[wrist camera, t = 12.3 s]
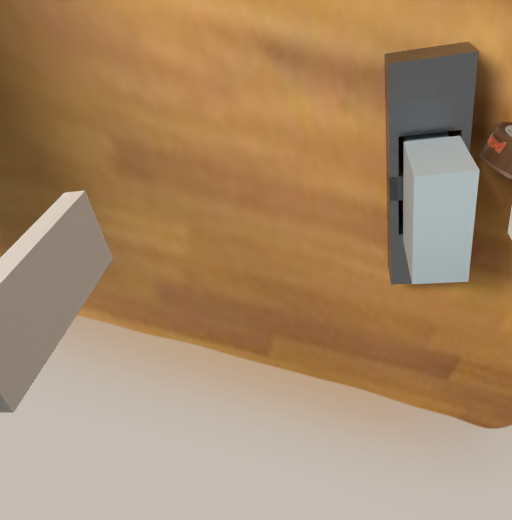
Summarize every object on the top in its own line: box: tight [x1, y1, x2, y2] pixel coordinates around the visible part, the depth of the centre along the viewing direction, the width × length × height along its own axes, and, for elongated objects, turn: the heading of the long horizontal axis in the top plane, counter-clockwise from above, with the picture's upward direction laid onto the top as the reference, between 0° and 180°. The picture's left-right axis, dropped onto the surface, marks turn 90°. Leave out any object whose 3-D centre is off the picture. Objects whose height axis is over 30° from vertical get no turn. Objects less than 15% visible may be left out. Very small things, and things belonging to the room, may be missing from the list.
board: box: [385, 42, 479, 284], centre depth 40 cm, size 6×20×3 cm, turn 10°
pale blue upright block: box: [403, 131, 480, 284], centre depth 37 cm, size 4×9×10 cm, turn 10°
